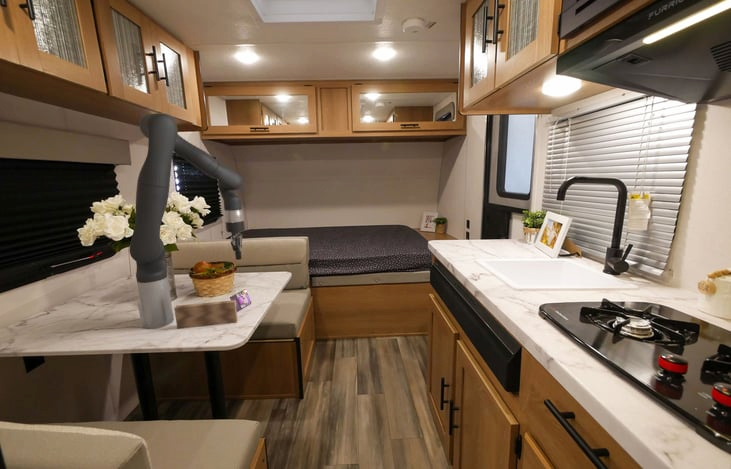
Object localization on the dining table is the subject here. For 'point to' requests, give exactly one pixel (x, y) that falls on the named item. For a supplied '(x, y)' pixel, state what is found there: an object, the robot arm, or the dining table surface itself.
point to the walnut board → (206, 314)
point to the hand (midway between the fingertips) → (238, 259)
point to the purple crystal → (240, 299)
